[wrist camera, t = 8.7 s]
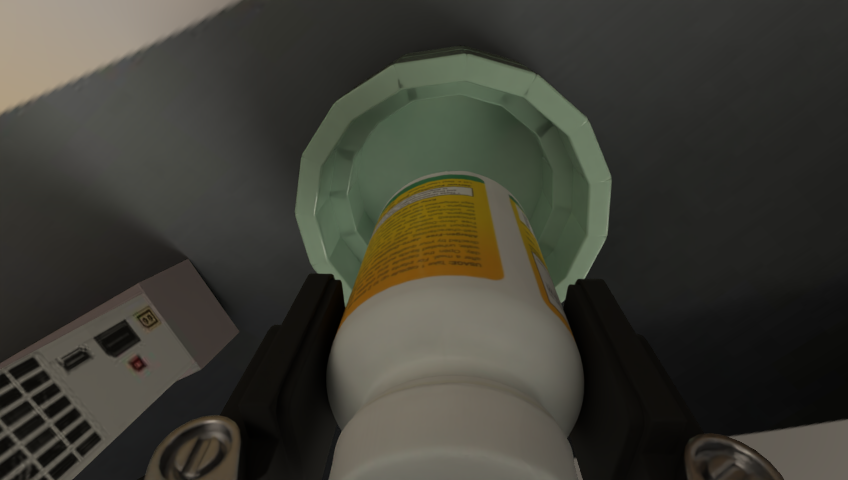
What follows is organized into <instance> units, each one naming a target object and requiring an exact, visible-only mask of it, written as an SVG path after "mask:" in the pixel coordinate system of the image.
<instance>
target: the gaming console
mask: <svg viewBox="0 0 848 480" xmlns="http://www.w3.org/2000/svg"><path fill="white" fill-rule="evenodd" d="M238 333H239V331H238V329H237V328H236V326H235V325H234V323H233V322H232V321H231V319H230V318H229V316H228V315H227V313H226V312H225V311H224V309H223V308H222V306H221V305H220V303H219V302H218V301H217V299H216V298H215V296H214V295H213V293H212V292H211V291H210V289H209V288H208V286H207V285H206V283H205V282H204V281H203V279H202V278H201V276H200V275H199V273H198V272H197V271H196V269H195V268H194V266H193V265H192V263H191V262H190V261H189V259H187V260H185V261H183V262H181V263H179V264H176V265H174V266H172V267H170V268H168V269H166V270H164V271H162V272H160V273H158V274H156V275H154V276H152V277H150V278H148V279H146V280H144V281H142V282H140V283H138V284H136V285H134V286H133V287H131V288H129V289H127V290H126V291H124V292H122V293H121V294H119V295H117V296H115V297H114V298H112V299H110V300H108V301H107V302H105V303H103V304H102V305H100V306H98V307H96V308H95V309H93V310H91V311H90V312H88V313H86V314H84V315H83V316H81V317H79V318H77V319H76V320H74V321H72V322H71V323H69V324H67V325H65V326H64V327H62V328H60V329H58V330H57V331H55V332H53V333H52V334H50V335H48V336H46V337H45V338H43V339H41V340H39V341H38V342H36V343H34V344H33V345H31V346H29V347H27V348H26V349H24V350H22V351H20V352H19V353H17V354H15V355H14V356H12V357H10V358H8V359H7V360H5V361H3V362H1V363H0V480H72V479H73V478H74V477H75V476H77V475H78V474H79V473H80V472H81V471H82V470H83V469H84V468H85V467H86V466H87V465H88V464H89V463H90V462H91V461H92V460H93V459H94V458H95V457H96V456H98V455H99V454H100V453H101V452H102V451H103V450H104V449H105V448H106V447H107V446H108V445H109V444H110V443H111V442H112V441H113V440H114V439H115V438H116V437H117V436H119V435H120V434H121V433H122V432H123V431H124V430H125V429H126V428H127V427H128V426H129V425H130V424H131V423H132V422H133V421H134V420H135V419H136V418H137V417H138V416H140V415H141V414H142V413H143V412H144V411H145V410H146V409H147V408H148V407H149V406H150V405H151V404H152V403H153V402H154V401H155V400H156V399H157V398H158V397H159V396H161V395H162V394H163V393H164V392H165V391H166V390H167V389H168V388H169V387H170V386H171V385H172V384H173V383H174V382H175V381H178V380H180V379H182V378H184V377H186V376H188V375H191V374H193V373H195V372H197V371H199V370H201V369H202V368H203V367H204V366H205V365H206V364H208V363H209V362H210V361H211V360H212V359H213V358H214V357H215V356H216V355H217V354H218V353H219V352H220V351H221V350H222V349H223V348H224V347H225V346H226V345H227V344H228V343H229V342H230V341H231V340H232V339H233V338H234V337H235V336H236V335H237V334H238Z"/></svg>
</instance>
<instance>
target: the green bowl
mask: <svg viewBox="0 0 848 480" xmlns="http://www.w3.org/2000/svg"><path fill="white" fill-rule="evenodd" d="M445 171H448V172H449V171H467V172H472V173H475V174H479V175H482V176H485V177H487V178H489V179H491V180H493V181H495V182H497V183H498V184H500V185H501V186H503V187H504V188H505V189H507V190H508V191H509V192H510V193H511V194H512V195H513V196H514V197H515V198H516V199H517V201H518V202H519V204H520V205H521V206H522V208H523V210H524V212H525V214H526V216H527V218H528V220H529V223H530V225H531V228H532V230H533V233H534V235H535V237H536V240H537V242H538V245H539V248H540V251H541V253H542V256H543V258H544V261H545V264H546V266H547V269H548V272H549V274H550V277H551V279H552V282H553V284H554V287H555V290H556V292H557V295H558V297H559V300H560V302H561V303H562V302H563V301H564V300H565V298H566V293H567V288H568V286H569V285H570V284H574V285H575V282H576V281H577V279H585V277H586V275H587V274H588V272H589V270H590V268H591V266H592V264H593V262H594V261H595V259H596V257H597V255H598V253H599V251H600V249H601V248H602V246H603V244H604V242H605V240H606V237H607V235H608V223H609V210H610V197H611V183H612V180H611V174H610V171H609V169H608V166H607V164H606V161H605V159H604V156H603V154H602V151H601V149H600V146H599V144H598V141H597V139H596V136H595V134H594V131H593V129H592V126H591V124H590V121H588V119H587V117H586V116H585V115H583V114H582V113H581V112H580V111H579V110H578V109H577V108H576V107H574V106H573V105H572V104H571V103H570V102H569V101H568V100H567V99H565V98H564V97H563V96H562V95H561V94H560V93H559V92H558V91H557V90H555V89H554V88H553V87H552V86H551V85H550V84H549V83H548V82H546V81H545V80H544V79H543V78H542V77H541V76H540V75H538V74H537V73H535V72H533V71H532V70H530V69H529V68H527V67H525V66H524V65H522V64H521V63H519V62H517V61H515V60H512V59H508V58H505V57H501V56H498V55H494V54H491V53H487V52H484V51H480V50H477V49H474V48H470V47H467V46H461V45H460V46H453V47H447V48H440V49H434V50H427V51H420V52H414V53H407V54H406V55H403V56H401V57H400V58H398V59H397V60H395V61H394V62H392V63H390V64H389V65H387V66H386V67H384V68H383V69H381V70H380V71H378V72H377V73H375V74H374V75H372V76H371V77H369V78H367V79H366V80H364V81H363V82H361V83H360V84H359V85H357V86H356V87H354V88H353V89H352V90H351V91H349V92H348V93H346V94H345V95H344V96H342V97H341V98H340V99H338V100H337V101H336V102H335V103H334V104H333V105H332V107H331V109H330V110H329V112H328V113H327V115H326V117H325V118H324V120H323V121H322V123H321V125H320V126H319V128H318V130H317V131H316V133H315V134H314V136H313V138H312V139H311V141H310V142H309V144H308V146H307V147H306V149H305V150H304V152H303V154H302V157H301V162H300V170H299V179H298V188H297V196H296V205H295V213H296V214H295V217H296V220H297V223H298V226H299V229H300V232H301V236H302V239H303V242H304V245H305V248H306V252H307V255H308V258H309V261H310V264H311V265H312V267H313V268H314V270H315V271H316V272H317V273H318V274H333V275H334V278H335V280H341V282H342V286H343V294H344V303H345V307H346V306H347V303H348V300H349V297H350V295H351V292H352V289H353V286H354V284H355V281H356V278H357V275H358V272H359V270H360V267H361V264H362V261H363V258H364V255H365V253H366V250H367V247H368V244H369V241H370V239H371V237H372V234H373V231H374V228H375V226H376V223H377V221H378V218H379V216H380V214H381V212H382V210H383V208H384V207H385V205H386V203H387V202H388V201H389V200H390V198H391V197H392V196H393V195H394V194H395V193H396V192H397V191H398V190H400V189H401V188H402V187H404V186H405V185H407V184H408V183H410V182H412V181H413V180H416V179H418V178H420V177H423V176H426V175H430V174H434V173H439V172H445Z"/></svg>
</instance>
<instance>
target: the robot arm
mask: <svg viewBox="0 0 848 480" xmlns="http://www.w3.org/2000/svg"><path fill="white" fill-rule="evenodd" d="M563 310H564V312H565V315H566V318H567V320H568V323H569V326H570V328H571V331H572V334H573V336H574V339H575V342H576V345H577V347H578V350H579V353H580V356H581V361H582V365H583V372H584V397H583V403H582V407H581V411H580V413H579V416H578V419H577V421H576V423H575V425H574V427H573V429H572V431H571V432H570V437H571V441H572V444H573V448H574V451H575V454H576V458H577V461H578V465H579V468H580V471H581V475H582V478H583V480H784V479H783V477H782V475H781V474H780V473H779V472H778V471H777V469H776V468H775V467H774V466H773V465H772V464H771V463H770V462H769V461H768V460H767V459H766V458H764V457H763V456H762V455H760V454H759V453H758V452H757V451H756V450H754V449H752V448H750V447H749V446H747V445H745V444H744V443H742V442H740V441H737V440H735V439H732V438H729V437H727V436H723V435H717V434H711V433H710V434H704V432H703V431H702V429H701V427H700V426H699V424H698V422H697V421H696V419H695V418H694V416H693V414H692V413H691V411H690V410H689V408H688V406H687V405H686V403H685V401H684V400H683V398H682V397H681V395H680V393H679V392H678V390H677V388H676V387H675V385H674V384H673V382H672V380H671V379H670V377H669V376H668V374H667V372H666V371H665V369H664V367H663V366H662V364H661V363H660V361H659V359H658V358H657V356H656V354H655V353H654V351H653V350H652V348H651V346H650V345H649V343H648V342H647V340H646V339H645V338H644V337H643V336H642V335H640V334H636V333H635V332H634V330H633V328H632V327H631V325H630V323H629V322H628V320H627V318H626V317H625V315H624V313H623V312H622V310H621V308H620V307H619V305H618V303H617V301H616V300H615V298H614V296H613V295H612V293H611V291H610V290H609V288H608V286H607V285H606V283H605V282H604V280H602V279H577V281H576V282H575V285H574V284H570V285H569V286H568V288H567V293H566V298H565V303H564V309H563ZM344 311H345V303H344V294H343V286H342V282H341V280H335V278H334V275H333V274H312V273H311V274H309V275H308V277H307V279H306V280H305V282H304V284H303V286H302V288H301V290H300V292H299V293H298V295H297V297H296V299H295V301H294V303H293V305H292V306H291V308H290V310H289V312H288V314H287V316H286V317H285V319H284V321H283V323H282V325H274V326H272V327H271V328H270V329H269V331H268V332H267V334H266V336H265V337H264V339H263V341H262V343H261V344H260V346H259V348H258V350H257V351H256V353H255V355H254V357H253V358H252V360H251V362H250V364H249V365H248V367H247V369H246V371H245V372H244V374H243V376H242V378H241V379H240V381H239V383H238V385H237V386H236V388H235V390H234V392H233V393H232V395H231V397H230V399H229V400H228V402H227V404H226V405H225V407H224V409H223V411H222V412H221V414H220V416H218V415H213V416H204V417H201V418H198V419H195V420H191V421H189V422H187V423H186V424H184V425H182V426H180V427H178V428H177V429H176V430H174V431H173V432H172V433H171V434H169V435H168V436H167V437H166V438H165V439H164V440H163V441H162V442H161V444H160V445H159V446H158V447H157V448H156V450H155V452H154V454H153V456H152V458H151V460H150V463H149V466H148V469H147V472H146V475H144V476H143V477H141V478H139V479H138V480H322V476H323V473H324V469H325V465H326V462H327V458H328V454H329V451H330V447H331V443H332V440H333V436H334V432H335V429H336V425H337V422H336V420H335V417H334V415H333V412H332V410H331V407H330V403H329V400H328V394H327V387H326V371H327V363H328V358H329V354H330V351H331V347H332V344H333V341H334V338H335V335H336V333H337V330H338V327H339V325H340V322H341V319H342V316H343V314H344Z"/></svg>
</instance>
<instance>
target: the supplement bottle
mask: <svg viewBox="0 0 848 480" xmlns="http://www.w3.org/2000/svg"><path fill="white" fill-rule="evenodd" d="M326 387H327V394H328V400H329V403H330V407H331V410H332V412H333V415H334V417H335V420H336V422H337V423H338V425H339V427H340V429H341V430H342V432H341V434H340V436H339V438H338V441H337V444H336V447H335V452H334V458H333V463H332V468H331V472H330V476H329V480H578V478H577V474H576V470H575V466H574V458H573V453H572V449H571V446H570V444H569V442H568V440H567V437H568V436H569V434H570V432H571V431H572V429H573V427H574V425H575V423H576V421H577V419H578V416H579V413H580V411H581V407H582V403H583V397H584V372H583V365H582V361H581V356H580V353H579V350H578V347H577V345H576V342H575V339H574V336H573V334H572V331H571V328H570V326H569V323H568V320H567V318H566V315H565V312H564V310H563V307H562V305H561V302H560V300H559V297H558V295H557V292H556V290H555V287H554V284H553V282H552V279H551V277H550V274H549V272H548V269H547V266H546V264H545V261H544V258H543V256H542V253H541V251H540V248H539V245H538V242H537V240H536V237H535V235H534V233H533V230H532V228H531V225H530V223H529V220H528V218H527V216H526V214H525V212H524V210H523V208H522V206H521V205H520V204H519V202H518V201H517V199H516V198H515V197H514V196H513V195H512V194H511V193H510V192H509V191H508V190H507V189H505V188H504V187H503V186H501V185H500V184H498V183H497V182H495V181H493V180H491V179H489V178H487V177H485V176H482V175H479V174H475V173H472V172H467V171H449V172H448V171H445V172H439V173H434V174H430V175H426V176H423V177H420V178H418V179H416V180H413V181H412V182H410V183H408V184H407V185H405V186H404V187H402V188H401V189H400V190H398V191H397V192H396V193H395V194H394V195H393V196H392V197H391V198H390V200H389V201H388V202H387V203H386V205H385V207H384V208H383V210H382V212H381V214H380V216H379V218H378V221H377V223H376V226H375V228H374V231H373V234H372V237H371V239H370V241H369V244H368V247H367V250H366V253H365V255H364V258H363V261H362V264H361V267H360V270H359V272H358V275H357V278H356V281H355V284H354V286H353V289H352V292H351V295H350V297H349V300H348V303H347V306H346V308H345V311H344V314H343V316H342V319H341V322H340V325H339V327H338V330H337V333H336V335H335V338H334V341H333V344H332V347H331V351H330V354H329V358H328V363H327V371H326Z"/></svg>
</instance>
